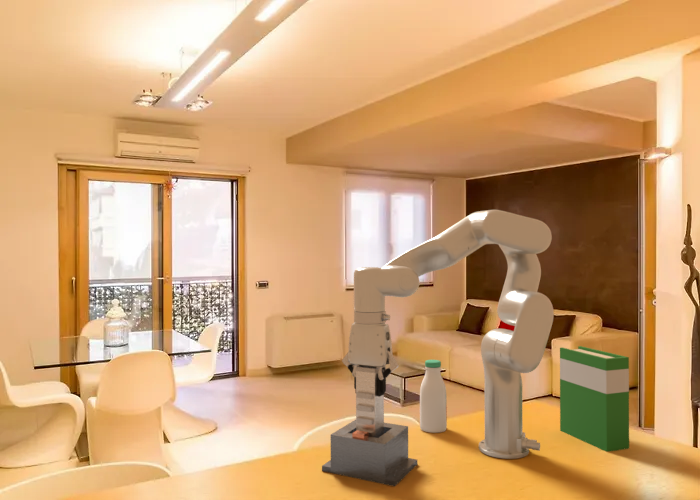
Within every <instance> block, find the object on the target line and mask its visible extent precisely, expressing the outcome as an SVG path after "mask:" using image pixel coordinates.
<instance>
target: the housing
mask: <svg viewBox="0 0 700 500" xmlns="http://www.w3.org/2000/svg"><path fill="white" fill-rule="evenodd" d="M416 466H418V459H416V458H410V457H409V426H408V425H404V424H403V425H402V424H395V423H389V422H384V434H383V435H382V436H380V437H379V438H375V437H369V432H365V431H359V430H357V431H356V419H354V420H352V421H351V422H349V423H348V424H346V425H344V426H342V427H341V428H339V429H338V430H336V431H334V432H333V433H331V434H330V460H329V461H327V462H326V463H324V464H322V465H321V471H322V472H326V473H330V474H334V475H340V476H344V477H349V478H353V479H358V480H362V481H363V480H364V481H368V482H371V483H372V482H373V483H376V484H381V485H382V484H383V485H386V486H391V487H396V486H397V485H398V484H399V483H400V482H401V481H402V480H403V479H404V478H405V477H406V476H408V475H409V473H410V472H411V471H412V470H413V469H414V468H416Z"/></svg>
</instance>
